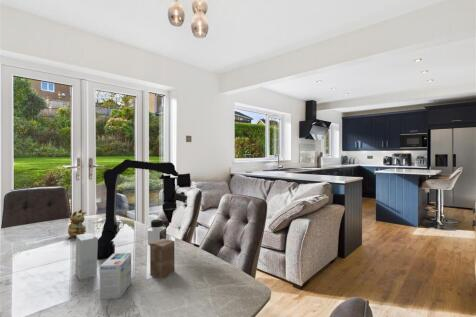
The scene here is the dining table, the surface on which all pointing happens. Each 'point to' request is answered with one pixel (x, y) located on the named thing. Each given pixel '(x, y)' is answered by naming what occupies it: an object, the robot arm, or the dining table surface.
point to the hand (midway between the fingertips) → (169, 220)
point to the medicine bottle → (156, 231)
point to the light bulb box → (115, 275)
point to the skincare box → (86, 255)
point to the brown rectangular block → (162, 258)
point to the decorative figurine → (77, 224)
